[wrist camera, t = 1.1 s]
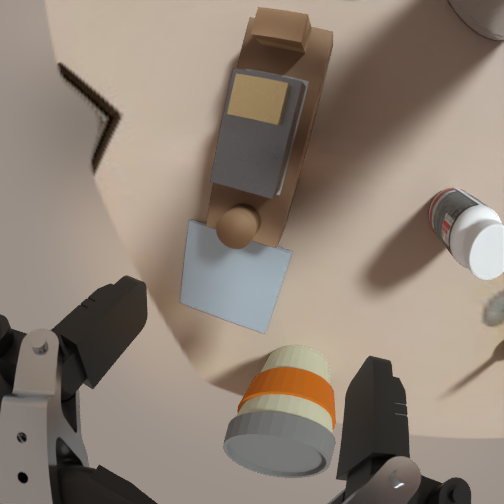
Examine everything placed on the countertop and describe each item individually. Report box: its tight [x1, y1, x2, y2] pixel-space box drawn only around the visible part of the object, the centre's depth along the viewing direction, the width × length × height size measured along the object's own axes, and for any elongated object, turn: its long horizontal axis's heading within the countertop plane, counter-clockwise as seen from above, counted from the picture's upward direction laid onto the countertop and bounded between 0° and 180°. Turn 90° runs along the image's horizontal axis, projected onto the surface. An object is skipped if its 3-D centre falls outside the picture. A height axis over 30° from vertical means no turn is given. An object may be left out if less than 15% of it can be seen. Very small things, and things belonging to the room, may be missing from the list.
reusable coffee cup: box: [223, 345, 336, 478], centre depth 32 cm, size 13×13×15 cm
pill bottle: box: [429, 188, 504, 280], centre depth 21 cm, size 6×6×10 cm
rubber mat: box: [180, 220, 292, 333], centre depth 35 cm, size 12×12×1 cm
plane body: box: [206, 7, 333, 249], centre depth 23 cm, size 20×7×8 cm, turn 167°
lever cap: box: [210, 68, 306, 199], centre depth 21 cm, size 9×5×4 cm, turn 167°
